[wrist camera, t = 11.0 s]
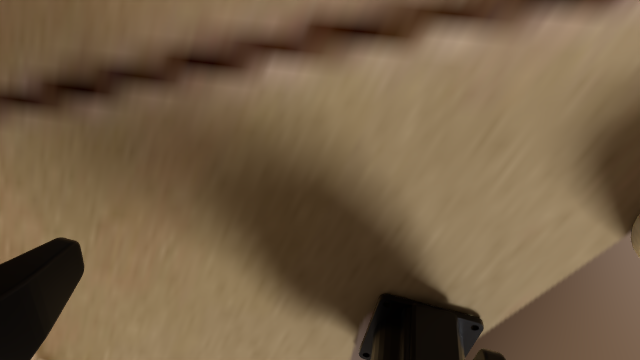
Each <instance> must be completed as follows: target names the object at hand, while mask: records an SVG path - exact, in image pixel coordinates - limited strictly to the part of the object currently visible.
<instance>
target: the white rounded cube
mask: <svg viewBox="0 0 640 360" xmlns="http://www.w3.org/2000/svg"><path fill="white" fill-rule="evenodd" d="M631 241H632V245H633V248H634V250H635V252H636V254H637V255H638V257H639V259H640V214H639V215H638V217H637V218H636V220H635V222H634V224H633V228H632V232H631Z"/></svg>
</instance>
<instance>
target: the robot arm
mask: <svg viewBox="0 0 640 360" xmlns="http://www.w3.org/2000/svg"><path fill="white" fill-rule="evenodd" d="M83 272H84V262H83V257H82V252H81V248H80V244H79V243H78V242H77V241H74V240H70V239H67V238H56V239H54V240H51V241H49V242H47V243H45V244H43V245H41V246H39V247H36V248H34V249H32V250H30V251H28V252H26V253H24V254H22V255H19V256H17V257H15V258H13V259H11V260H9V261H7V262H4V263H2V264H0V360H31V358H32V357H33V356H34V354H35V353H36V351H37V350H38V349H39V347H40V346H41V344H42V343H43V341H44V340H45V339H46V337H47V335H48V334H49V332H50V331H51V329H52V327H53V326H54V324H55V322H56V320H57V319H58V317H59V315H60V314H61V312H62V310H63V308H64V307H65V305H66V303H67V301H68V300H69V298H70V296H71V295H72V293H73V291H74V289H75V288H76V286H77V284H78V282H79V281H80V279H81V277H82V275H83ZM483 328H484V327H483V322H482V320H481V319H480V318H477V317H473V316H470V315H466V314H462V313H458V312H454V311H451V310H447V309H443V308H439V307H435V306H431V305H428V304H424V303H420V302H416V301H412V300H408V299H405V298H401V297H397V296H393V295H389V294H383V295H381V296H380V297H379V300H378V302H377V305H376V307H375V310H374V313H373V315H372V318H371V320H370V323H369V326H368V328H367V331H366V334H365V336H364V339H363V341H362V344H361V346H360V351H359V356H360V357H361V358H363V359H366V360H465V357H466V355H467V354H468V353H469V351H470V349H471V348H472V346H473V345H474V343H475V342H476V340H477V339H478V337H479V335H480V334H481V332H482V331H483ZM473 360H506V359H505V358H504V356H503V355H502V354H501V353H498V352H496V351H492V350H488V349H481V350H480V351H479V352H478V353H477V355H476V356H475V358H474V359H473Z"/></svg>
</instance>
